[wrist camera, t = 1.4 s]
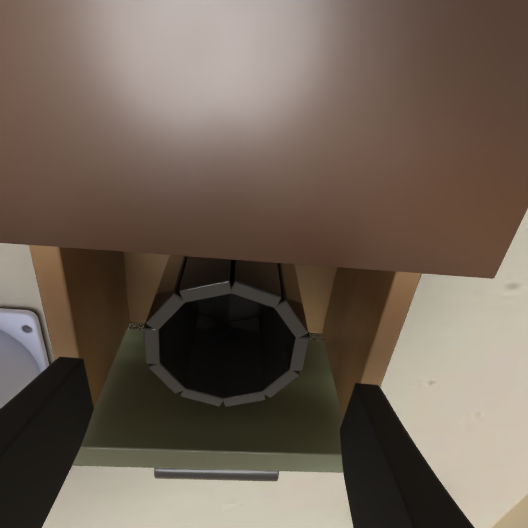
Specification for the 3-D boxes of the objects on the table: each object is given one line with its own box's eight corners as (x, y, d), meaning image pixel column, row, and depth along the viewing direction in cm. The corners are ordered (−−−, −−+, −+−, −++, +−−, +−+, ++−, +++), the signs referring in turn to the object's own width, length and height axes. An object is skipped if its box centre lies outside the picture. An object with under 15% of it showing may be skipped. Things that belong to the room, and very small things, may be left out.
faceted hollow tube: (303, 309, 19) (320, 391, 14) (189, 330, 19) (172, 417, 15) (282, 204, 16) (295, 267, 12) (149, 232, 16) (114, 303, 12)
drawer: (322, 407, 24) (346, 528, 18) (116, 399, 23) (72, 524, 17) (405, 99, 15) (505, 140, 9) (74, 62, 14) (-50, 82, 8)
